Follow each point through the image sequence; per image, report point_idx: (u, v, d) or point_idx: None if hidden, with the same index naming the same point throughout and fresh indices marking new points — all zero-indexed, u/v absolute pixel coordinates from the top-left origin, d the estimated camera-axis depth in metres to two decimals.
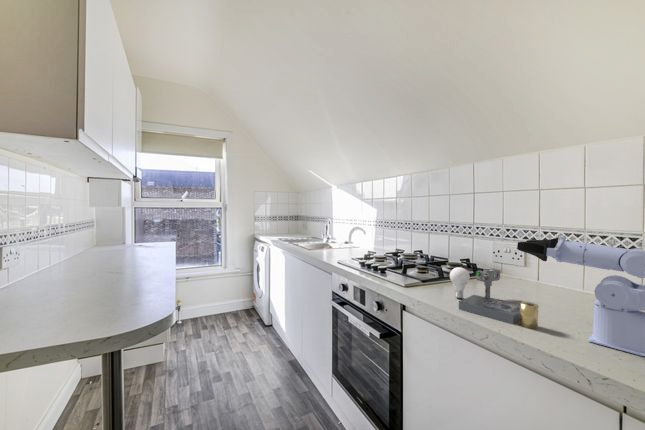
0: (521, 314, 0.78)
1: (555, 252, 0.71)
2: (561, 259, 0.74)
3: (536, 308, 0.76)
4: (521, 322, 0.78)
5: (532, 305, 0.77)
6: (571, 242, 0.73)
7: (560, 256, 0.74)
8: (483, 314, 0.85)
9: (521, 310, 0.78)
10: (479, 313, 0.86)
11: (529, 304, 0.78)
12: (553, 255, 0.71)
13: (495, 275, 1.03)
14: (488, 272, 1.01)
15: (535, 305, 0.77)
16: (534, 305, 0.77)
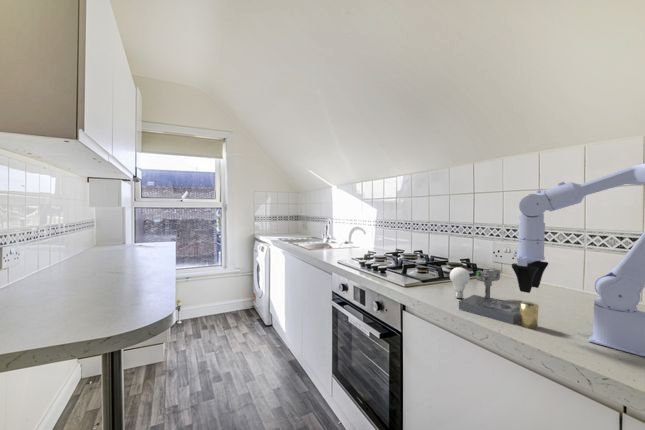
0: (521, 314, 0.78)
1: (521, 259, 0.73)
2: (537, 256, 0.75)
3: (536, 308, 0.76)
4: (521, 322, 0.78)
5: (532, 305, 0.77)
6: (518, 248, 0.79)
7: (533, 256, 0.75)
8: (483, 314, 0.85)
9: (521, 310, 0.78)
10: (479, 313, 0.86)
11: (529, 304, 0.78)
12: (524, 260, 0.73)
13: (495, 275, 1.03)
14: (488, 272, 1.01)
15: (535, 305, 0.77)
16: (534, 305, 0.77)
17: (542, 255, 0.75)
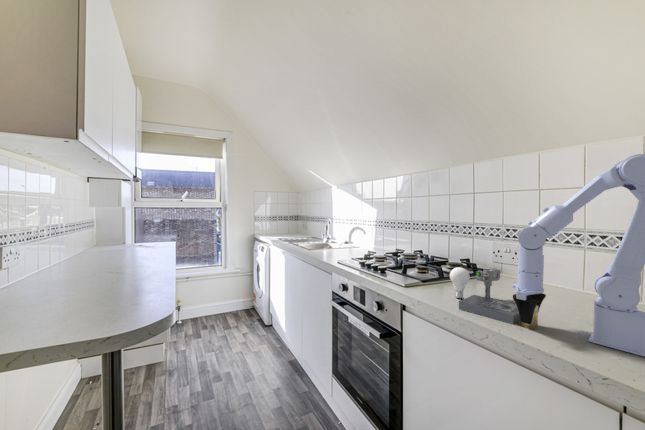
0: None
1: (520, 292, 0.74)
2: (536, 289, 0.75)
3: (536, 308, 0.76)
4: (521, 322, 0.78)
5: None
6: (517, 280, 0.79)
7: (532, 289, 0.75)
8: (483, 314, 0.85)
9: None
10: (479, 313, 0.86)
11: None
12: (523, 294, 0.73)
13: (495, 275, 1.03)
14: (488, 272, 1.01)
15: None
16: None
17: (541, 288, 0.75)
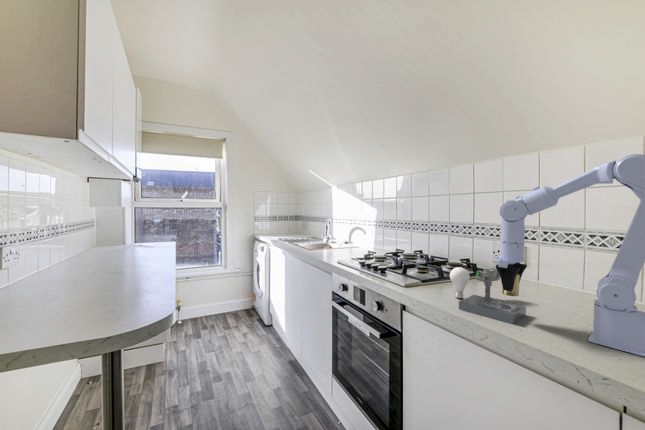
0: None
1: (501, 261, 0.79)
2: (517, 258, 0.80)
3: (517, 276, 0.81)
4: (503, 290, 0.83)
5: None
6: (500, 251, 0.84)
7: (513, 259, 0.80)
8: (483, 314, 0.85)
9: None
10: (479, 313, 0.86)
11: None
12: (505, 262, 0.78)
13: (495, 275, 1.03)
14: (488, 272, 1.01)
15: None
16: None
17: (522, 257, 0.81)
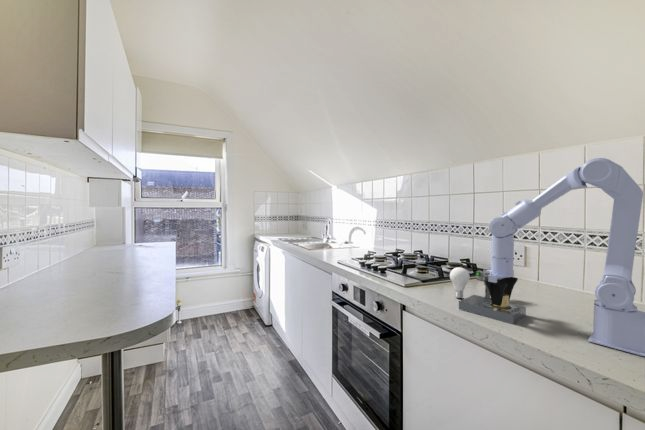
0: None
1: (491, 276, 0.82)
2: (507, 273, 0.84)
3: (506, 298, 0.85)
4: None
5: (503, 295, 0.85)
6: (491, 265, 0.88)
7: (503, 273, 0.84)
8: (483, 314, 0.85)
9: None
10: (479, 313, 0.86)
11: None
12: (494, 277, 0.81)
13: None
14: None
15: (506, 295, 0.86)
16: (505, 295, 0.86)
17: (511, 272, 0.84)
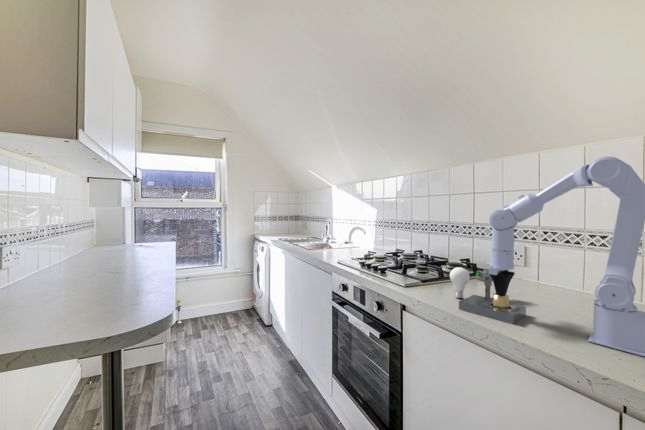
0: (494, 304, 0.87)
1: (491, 268, 0.82)
2: (507, 266, 0.83)
3: (506, 298, 0.85)
4: None
5: (503, 296, 0.85)
6: (491, 258, 0.88)
7: (503, 266, 0.84)
8: (483, 314, 0.85)
9: (494, 300, 0.87)
10: (479, 313, 0.86)
11: None
12: (494, 270, 0.81)
13: None
14: (488, 272, 1.01)
15: (506, 296, 0.86)
16: (505, 296, 0.86)
17: (511, 265, 0.84)
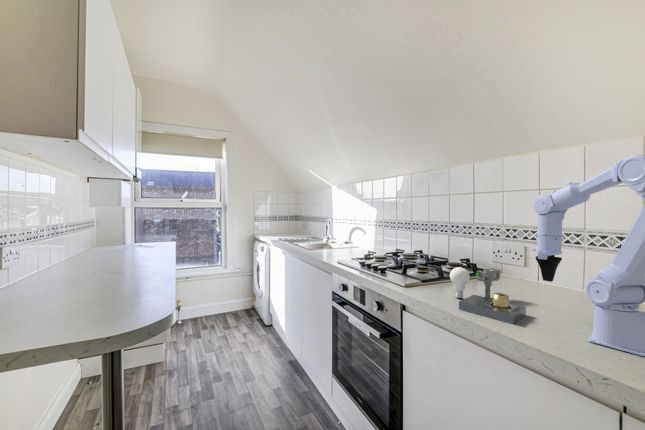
0: (494, 304, 0.87)
1: (541, 253, 0.81)
2: (555, 250, 0.83)
3: (506, 298, 0.85)
4: None
5: (503, 295, 0.85)
6: (537, 244, 0.87)
7: (551, 251, 0.83)
8: (483, 314, 0.85)
9: (494, 300, 0.87)
10: (479, 313, 0.86)
11: (501, 294, 0.86)
12: (544, 254, 0.81)
13: (495, 275, 1.03)
14: (488, 272, 1.01)
15: (506, 295, 0.86)
16: (505, 295, 0.86)
17: (560, 249, 0.83)
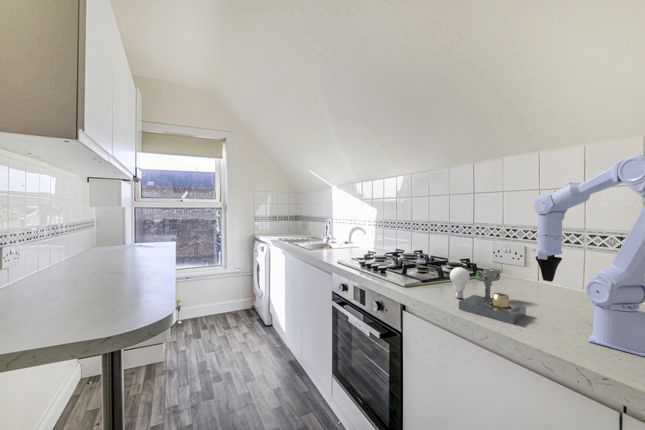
0: (494, 304, 0.87)
1: (541, 253, 0.81)
2: (555, 250, 0.83)
3: (506, 298, 0.85)
4: None
5: (503, 295, 0.85)
6: (537, 244, 0.87)
7: (551, 251, 0.83)
8: (483, 314, 0.85)
9: (494, 300, 0.87)
10: (479, 313, 0.86)
11: (501, 294, 0.86)
12: (544, 254, 0.81)
13: (495, 275, 1.03)
14: (488, 272, 1.01)
15: (506, 295, 0.86)
16: (505, 295, 0.86)
17: (560, 249, 0.83)
